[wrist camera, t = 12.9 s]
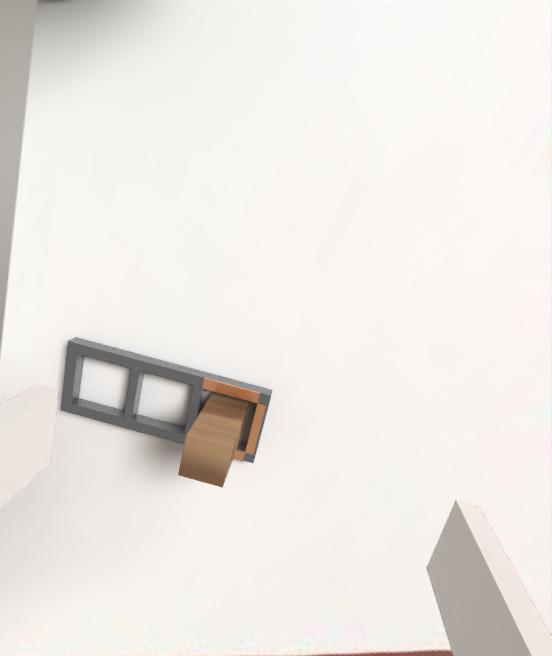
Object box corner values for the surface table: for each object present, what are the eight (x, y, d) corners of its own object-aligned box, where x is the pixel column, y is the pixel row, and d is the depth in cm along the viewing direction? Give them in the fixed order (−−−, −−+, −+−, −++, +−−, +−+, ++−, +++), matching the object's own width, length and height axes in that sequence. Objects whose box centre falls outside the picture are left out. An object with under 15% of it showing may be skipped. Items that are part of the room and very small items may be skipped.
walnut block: (212, 392, 49) (186, 435, 39) (249, 402, 49) (232, 447, 39) (205, 425, 50) (178, 475, 40) (241, 435, 50) (222, 487, 40)
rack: (75, 337, 49) (67, 341, 47) (272, 390, 48) (270, 396, 46) (68, 404, 51) (59, 410, 50) (255, 456, 50) (253, 464, 49)
